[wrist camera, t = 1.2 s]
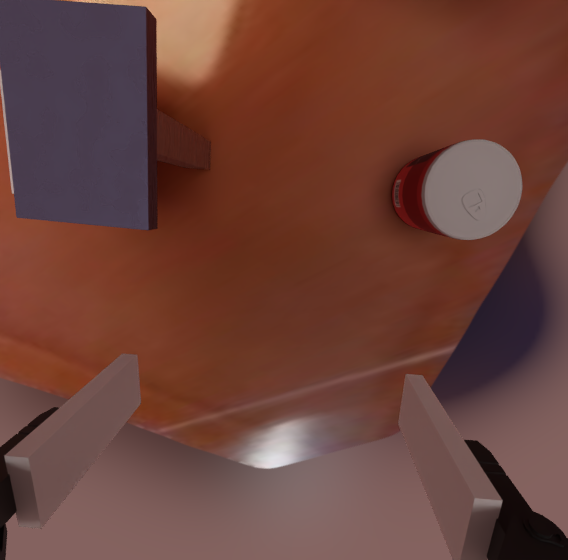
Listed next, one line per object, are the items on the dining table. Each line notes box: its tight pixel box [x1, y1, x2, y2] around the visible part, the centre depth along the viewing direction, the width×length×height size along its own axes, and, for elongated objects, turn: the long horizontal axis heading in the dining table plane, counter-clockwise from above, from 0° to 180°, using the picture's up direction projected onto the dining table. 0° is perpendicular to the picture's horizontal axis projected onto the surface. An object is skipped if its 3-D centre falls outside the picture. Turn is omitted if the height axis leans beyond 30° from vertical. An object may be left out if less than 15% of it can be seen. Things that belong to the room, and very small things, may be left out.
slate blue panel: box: [0, 0, 211, 230], centre depth 30 cm, size 14×10×16 cm
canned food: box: [392, 140, 522, 240], centre depth 32 cm, size 8×8×11 cm
